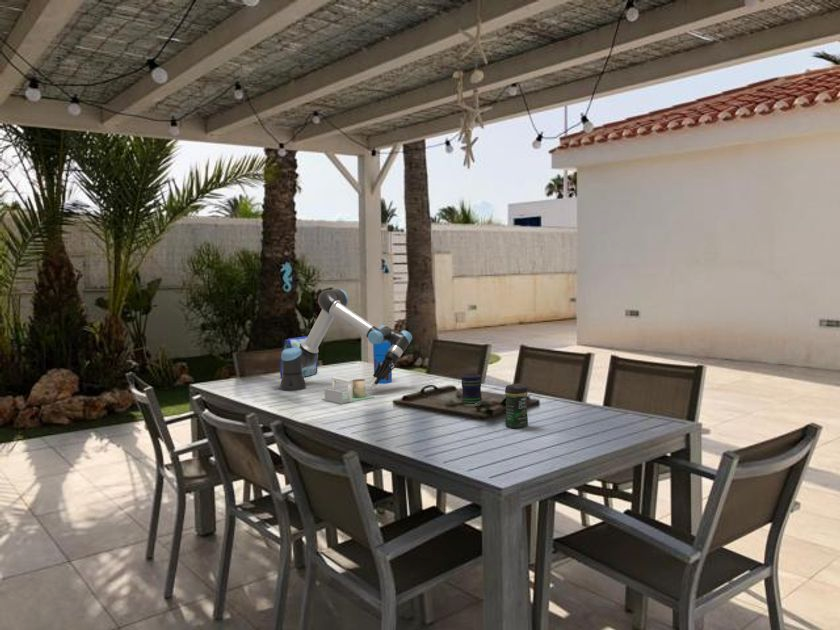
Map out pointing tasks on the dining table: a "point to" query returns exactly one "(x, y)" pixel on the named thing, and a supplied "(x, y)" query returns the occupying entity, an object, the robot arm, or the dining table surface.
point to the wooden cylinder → (359, 388)
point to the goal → (338, 392)
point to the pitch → (352, 398)
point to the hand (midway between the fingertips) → (370, 388)
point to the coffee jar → (516, 405)
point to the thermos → (381, 358)
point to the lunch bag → (296, 344)
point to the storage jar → (471, 388)
